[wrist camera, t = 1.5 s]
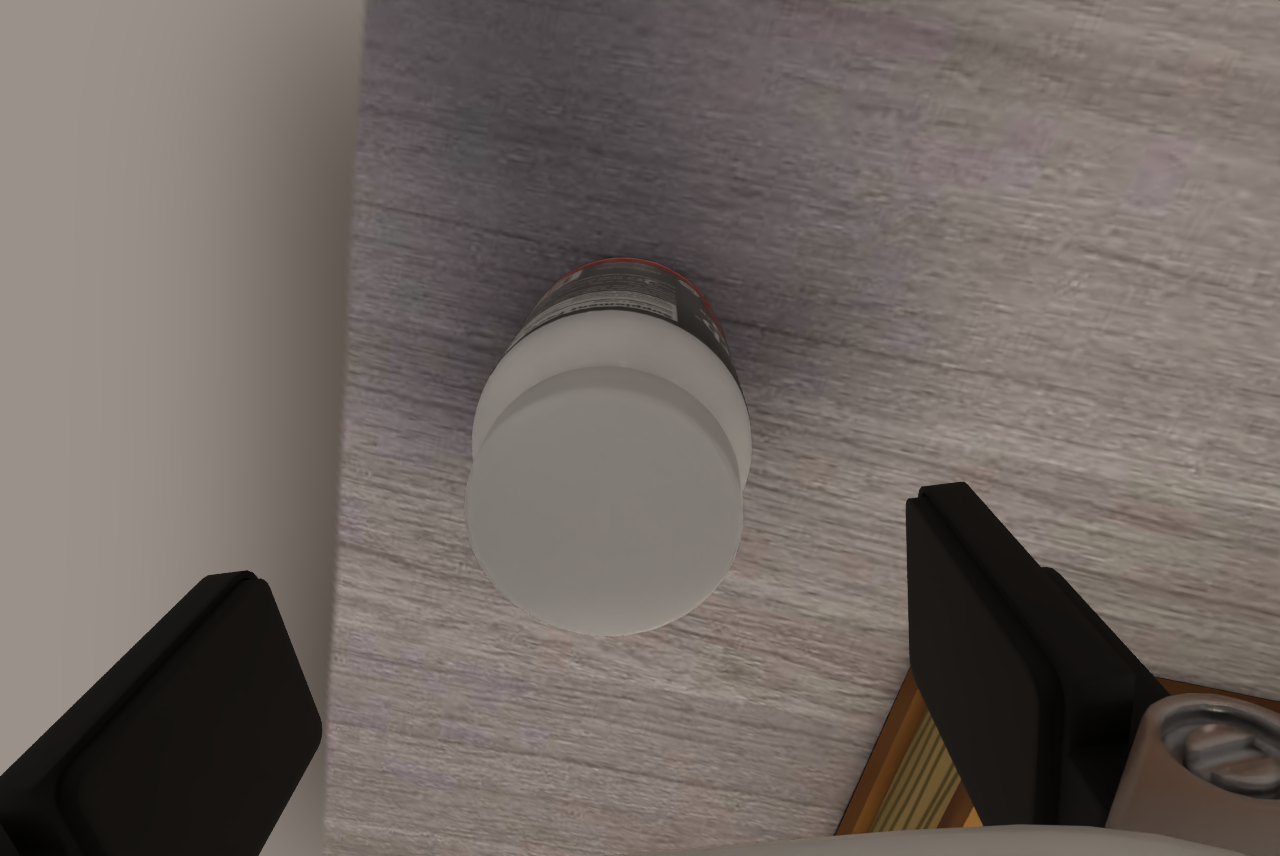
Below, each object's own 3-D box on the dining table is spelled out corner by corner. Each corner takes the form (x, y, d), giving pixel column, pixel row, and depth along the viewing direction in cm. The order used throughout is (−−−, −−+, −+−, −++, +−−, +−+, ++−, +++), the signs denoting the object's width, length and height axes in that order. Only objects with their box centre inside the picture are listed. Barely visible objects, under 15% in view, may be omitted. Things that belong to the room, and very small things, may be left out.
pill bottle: (728, 438, 22) (777, 658, 13) (540, 451, 23) (462, 675, 14) (720, 243, 20) (773, 347, 11) (512, 260, 21) (397, 374, 11)
